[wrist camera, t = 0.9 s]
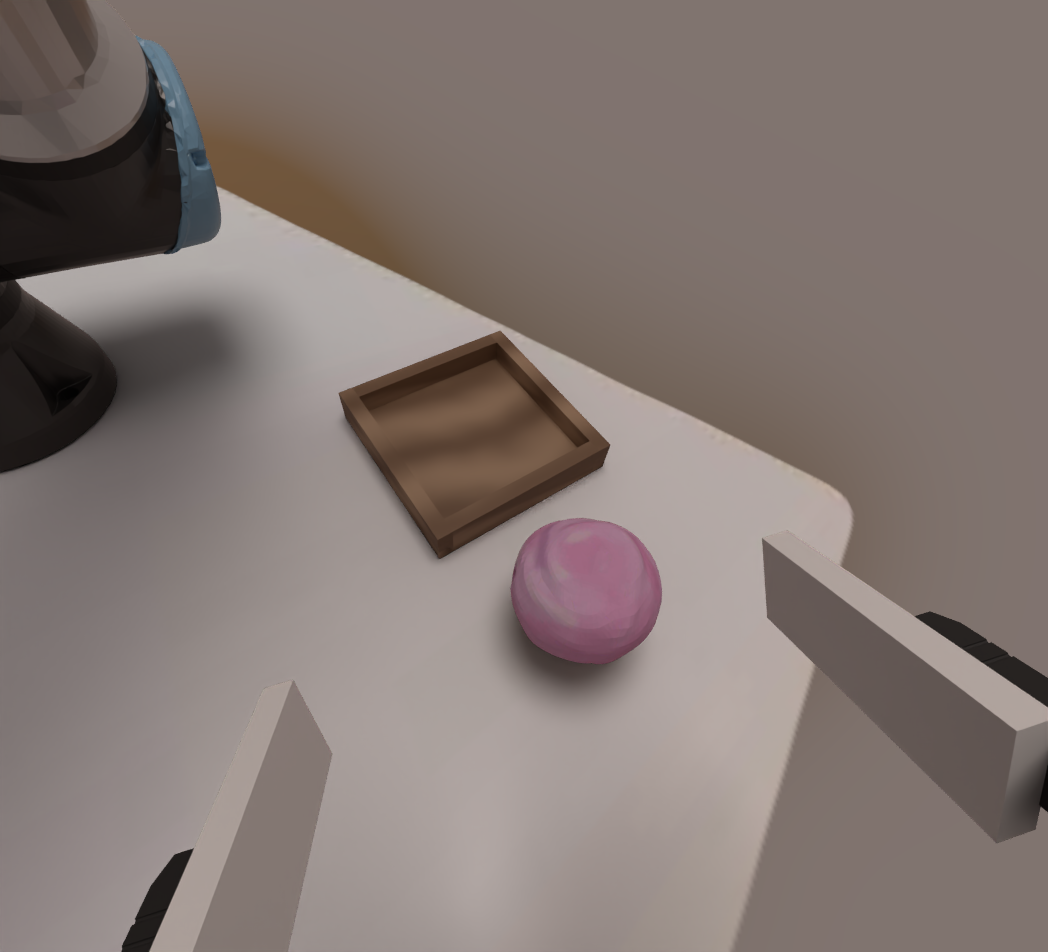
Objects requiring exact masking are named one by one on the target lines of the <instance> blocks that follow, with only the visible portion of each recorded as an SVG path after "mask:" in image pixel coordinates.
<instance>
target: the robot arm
mask: <svg viewBox="0 0 1048 952" xmlns="http://www.w3.org/2000/svg"><path fill="white" fill-rule="evenodd" d="M220 226H221V210H220V203H219V198H218V193H217V188H216V184H215V180H214V176H213V173H212V169H211V166H210V164H209V161H208V159H207V158H206V151H205V148H204V143H203V139H202V135H201V132H200V128H199V125H198V123H197V120H196V117H195V114H194V111H193V108H192V105H191V103H190V100H189V97H188V95H187V92H186V90H185V87H184V85H183V83H182V80H181V78H180V76H179V74H178V72H177V69H176V67H175V65H174V64H173V62H172V60H171V58H170V56H169V55H168V53H167V52H166V51H165V49H164V48H163V47H161V46H160V45H159V44H157V43H155V42H154V41H150V40H143V39H141V38H139V37H138V36H135V35H134V34H133V32H132V31H131V29H130V28H129V26H128V25H127V24H126V22H125V21H124V20H123V18H122V17H121V16H120V14H119V13H118V12H117V11H116V10H115V9H114V8H113V7H112V6H111V5H110V4H109V3H108V2H107V1H106V0H0V471H4V470H8V469H12V468H15V467H18V466H21V465H24V464H27V463H30V462H32V461H35V460H37V459H40V458H42V457H44V456H46V455H49V454H51V453H53V452H54V451H56V450H58V449H60V448H62V447H63V446H65V445H67V444H68V443H70V442H71V441H73V440H74V439H76V438H77V437H79V436H80V435H81V434H83V433H84V432H85V431H86V430H87V429H89V428H90V427H91V426H92V425H93V424H94V423H95V422H96V421H97V420H98V419H99V418H100V417H101V415H102V414H103V413H104V412H105V410H106V409H107V407H108V406H109V404H110V402H111V400H112V398H113V396H114V393H115V390H116V384H117V376H116V371H115V368H114V366H113V364H112V362H111V361H110V359H109V358H108V357H107V355H106V354H105V353H104V352H103V350H102V349H101V348H100V346H99V345H98V344H97V343H96V341H95V340H93V339H92V338H91V337H90V336H89V335H88V334H87V333H85V332H84V331H83V330H81V329H80V328H78V327H77V326H75V325H74V324H72V323H71V322H70V321H68V320H67V319H65V318H64V317H62V316H61V315H59V314H58V313H56V312H55V311H54V310H52V309H51V308H49V307H48V306H46V305H45V304H43V303H42V302H40V301H39V300H38V299H36V298H35V297H33V296H32V295H30V294H29V293H27V292H26V291H25V290H23V289H22V288H21V286H20V285H19V284H18V283H17V282H16V281H15V280H16V279H21V278H26V277H32V276H37V275H43V274H48V273H53V272H59V271H64V270H69V269H75V268H80V267H86V266H92V265H98V264H104V263H110V262H116V261H121V260H127V259H133V258H139V257H145V256H151V255H157V254H173V253H175V252H177V251H179V250H180V249H181V248H185V247H189V246H194V245H198V244H202V243H205V242H208V241H210V240H212V239H213V238H214V237H215V236H216V235H217V234H218V232H219V229H220ZM762 545H763V560H764V575H765V591H766V606H767V618H768V619H769V620H770V621H771V622H772V623H773V624H774V625H775V626H776V627H777V628H778V629H779V630H780V631H782V632H783V633H784V634H785V635H786V636H787V637H788V638H789V639H790V640H791V641H792V642H793V643H794V644H795V645H796V646H797V647H798V648H799V649H800V650H801V651H802V652H803V653H804V654H805V655H806V656H807V657H808V658H809V659H810V660H811V661H812V662H813V663H814V664H815V665H816V666H817V667H818V668H819V669H820V670H821V671H822V672H823V673H824V674H825V675H826V676H827V677H828V678H829V679H830V680H831V681H832V682H833V683H834V684H835V685H836V686H837V687H838V688H839V689H840V690H841V691H842V692H843V693H845V694H846V696H847V697H849V699H851V700H852V701H853V702H854V703H855V704H856V705H857V706H858V707H859V708H860V709H861V710H862V711H863V712H864V713H865V714H866V715H867V716H868V717H869V718H870V719H871V720H872V721H873V722H874V723H875V724H876V725H877V726H878V727H879V728H880V729H881V730H882V731H883V732H884V733H885V734H886V735H887V736H888V737H889V738H890V739H891V740H892V741H893V742H894V743H895V744H896V745H897V746H898V747H899V748H900V749H901V750H902V751H903V752H904V753H905V754H907V756H908V757H909V758H910V759H911V760H912V761H913V762H914V763H916V764H917V766H918V767H919V768H921V769H922V770H923V771H924V772H925V773H926V774H927V775H928V776H929V777H930V778H931V779H932V780H933V781H934V782H935V783H936V784H937V785H938V786H939V787H940V788H941V789H942V790H943V791H944V792H945V793H946V794H947V795H948V796H949V797H950V798H951V799H952V800H953V801H954V802H955V803H956V804H957V805H958V806H959V807H960V808H961V809H962V810H963V811H964V812H965V813H966V814H967V815H968V816H969V817H970V818H971V819H972V820H973V821H974V822H975V823H976V824H977V825H978V826H979V827H980V828H981V829H983V830H984V832H985V833H987V834H988V836H990V837H991V838H992V839H993V840H994V841H995V842H996V843H999V842H1002V841H1005V840H1008V839H1010V838H1013V837H1016V836H1019V835H1022V834H1024V833H1027V832H1030V831H1033V830H1035V829H1036V825H1037V820H1038V816H1039V811H1040V807H1042V808H1043V809H1045V810H1046V811H1047V812H1048V678H1047V677H1045V676H1044V675H1042V674H1041V673H1039V672H1038V671H1036V670H1034V669H1033V668H1031V667H1030V666H1028V665H1026V664H1025V663H1023V662H1022V661H1020V660H1018V659H1017V658H1015V657H1014V656H1013V657H1010V656H1009V655H1008V653H1007V652H1006V651H1004V650H1002V649H1001V648H999V647H998V646H996V645H995V644H993V643H988V642H987V640H986V639H985V638H984V637H982V636H981V635H979V634H977V633H976V632H974V631H973V630H971V629H970V628H968V627H966V626H965V625H963V624H962V623H960V622H957V621H954V620H952V619H949V618H946V617H944V616H941V615H938V614H936V613H933V612H927V613H924V614H920V615H918V616H913V615H911V614H910V613H908V612H907V611H905V610H904V609H902V608H901V607H899V606H898V605H896V604H895V603H894V602H892V601H891V600H889V599H888V598H886V597H885V596H883V595H882V594H880V593H879V592H877V591H876V590H874V589H873V588H872V587H870V586H868V585H867V584H866V583H864V582H863V581H861V580H860V579H858V578H857V577H855V576H854V575H852V574H851V573H849V572H848V571H847V570H845V569H843V568H842V567H841V566H839V565H838V564H836V563H835V562H833V561H832V560H830V559H829V558H827V557H826V556H825V555H823V554H822V553H820V552H819V551H817V550H816V549H814V548H813V547H811V546H810V545H808V544H807V543H805V542H804V541H802V540H801V539H800V538H798V537H797V536H795V535H794V534H792V533H791V532H789V531H788V530H787V531H784V532H781V533H777V534H774V535H771V536H767V537H764V538H762ZM331 757H332V752H331V750H330V748H329V746H328V745H327V743H326V741H325V739H324V737H323V735H322V733H321V731H320V729H319V728H318V726H317V724H316V722H315V720H314V718H313V716H312V714H311V712H310V711H309V709H308V707H307V705H306V703H305V701H304V699H303V697H302V695H301V693H300V692H299V690H298V688H297V686H296V684H295V682H294V680H290V681H287V682H283V683H280V684H277V685H273V686H270V687H267V688H264V689H263V691H262V694H261V696H260V698H259V701H258V703H257V705H256V707H255V710H254V712H253V714H252V717H251V719H250V721H249V724H248V726H247V728H246V730H245V733H244V735H243V737H242V740H241V742H240V744H239V747H238V749H237V751H236V753H235V756H234V758H233V760H232V763H231V765H230V767H229V770H228V772H227V774H226V776H225V779H224V781H223V783H222V786H221V788H220V790H219V792H218V795H217V797H216V799H215V802H214V804H213V806H212V809H211V811H210V813H209V815H208V818H207V820H206V822H205V825H204V827H203V829H202V832H201V834H200V836H199V838H198V841H197V843H196V845H195V848H193V849H190V850H187V851H184V852H181V853H178V854H175V855H174V856H173V857H172V859H171V860H170V861H169V863H168V864H167V865H166V867H165V868H164V869H163V871H162V872H161V873H160V874H159V876H158V877H157V878H156V880H155V881H154V882H153V884H152V885H151V887H150V889H149V891H148V893H147V895H146V897H145V899H144V901H143V903H142V905H141V907H140V910H139V912H138V914H137V916H136V918H135V920H136V922H135V924H134V925H132V926H131V928H130V930H129V932H128V935H127V937H126V939H125V941H124V943H123V945H122V952H288V948H289V943H290V939H291V934H292V930H293V926H294V921H295V917H296V912H297V908H298V903H299V899H300V895H301V890H302V886H303V881H304V877H305V872H306V868H307V864H308V859H309V855H310V850H311V846H312V841H313V837H314V832H315V828H316V824H317V819H318V815H319V810H320V806H321V801H322V797H323V793H324V788H325V784H326V779H327V775H328V770H329V766H330V762H331Z"/></svg>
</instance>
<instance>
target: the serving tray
mask: <svg viewBox="0 0 1048 952" xmlns="http://www.w3.org/2000/svg"><path fill="white" fill-rule="evenodd" d="M339 396H340V400H341V403H342V406H343V410H344V413H345V417H346V419H347V420H348V422H349V423H350V425H351V426H352V428H353V429H354V431H355V432H356V434H357V435H358V437H359V438H360V440H361V441H362V443H363V444H364V446H365V447H366V449H367V450H368V452H369V453H370V455H371V456H372V458H373V459H374V461H375V462H376V464H377V465H378V467H379V468H380V470H381V471H382V473H383V474H384V476H385V477H386V479H387V480H388V482H389V484H390V485H391V487H392V488H393V490H394V491H395V493H396V494H397V496H398V497H399V499H400V500H401V502H402V503H403V505H404V506H405V508H406V509H407V511H408V512H409V514H410V515H411V517H412V518H413V520H414V521H415V523H416V524H417V526H418V527H419V529H420V530H421V532H422V533H423V535H424V536H425V538H426V539H427V541H428V542H429V544H430V545H431V547H432V548H433V550H434V551H435V553H436V554H437V556H438V557H439V559H440V558H442V557H444V556H446V555H447V554H449V553H451V552H453V551H454V550H456V549H458V548H460V547H461V546H463V545H465V544H467V543H468V542H470V541H472V540H474V539H475V538H477V537H479V536H481V535H482V534H484V533H486V532H488V531H490V530H491V529H493V528H495V527H497V526H498V525H500V524H502V523H504V522H505V521H507V520H509V519H511V518H512V517H514V516H516V515H518V514H519V513H521V512H523V511H525V510H526V509H528V508H530V507H532V506H533V505H535V504H537V503H539V502H540V501H542V500H544V499H546V498H548V497H549V496H551V495H553V494H555V493H556V492H558V491H560V490H562V489H563V488H565V487H567V486H569V485H570V484H572V483H574V482H576V481H577V480H579V479H581V478H583V477H584V476H586V475H588V474H590V473H591V472H593V471H595V470H597V469H598V468H600V467H602V466H603V463H604V460H605V458H606V455H607V453H608V450H609V447H610V444H609V443H608V442H607V441H606V440H605V439H604V438H603V437H602V436H601V435H600V434H599V432H598V431H597V430H596V429H595V428H594V427H593V426H592V425H591V424H590V423H589V422H588V421H587V420H586V419H585V418H584V417H583V416H582V415H581V414H580V413H579V412H578V411H577V410H576V409H575V408H574V407H573V406H572V404H571V403H570V402H569V401H568V400H567V399H566V398H565V397H564V396H563V395H562V394H561V393H560V392H559V391H558V390H557V389H556V388H555V387H554V386H553V385H552V384H551V383H550V382H549V381H548V380H547V379H546V378H545V376H544V375H543V374H542V373H541V372H540V371H539V370H538V369H537V368H536V367H535V366H534V365H533V364H532V363H531V362H530V361H529V360H528V359H527V358H526V357H525V356H524V355H523V354H522V353H521V352H520V351H519V350H518V348H517V347H516V346H515V345H514V344H513V343H512V342H511V341H510V340H509V339H508V338H507V337H506V336H505V335H504V334H503V333H502V332H501V331H498V332H495V333H493V334H490V335H488V336H485V337H482V338H480V339H477V340H475V341H472V342H469V343H467V344H464V345H462V346H459V347H457V348H454V349H451V350H449V351H446V352H444V353H441V354H438V355H436V356H433V357H431V358H428V359H425V360H423V361H420V362H418V363H415V364H412V365H410V366H407V367H405V368H402V369H400V370H397V371H394V372H392V373H389V374H387V375H384V376H381V377H379V378H376V379H374V380H371V381H368V382H366V383H363V384H361V385H358V386H355V387H353V388H350V389H348V390H345V391H343V392H340V393H339Z"/></svg>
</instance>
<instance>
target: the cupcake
mask: <svg viewBox="0 0 1048 952" xmlns="http://www.w3.org/2000/svg"><path fill="white" fill-rule="evenodd" d="M510 589H511V597H512V603H513V606H514V610H515V613H516V615H517V617H518V620H519V622H520V624H521V626H522V628H523V629H524V631H525V633H526V635H527V636H528V638H529V639H530V640H531V641H532V642H533V643H534V644H535V645H536V646H538V647H539V648H541V649H543V650H544V651H546V652H548V653H550V654H552V655H554V656H557V657H560V658H563V659H566V660H569V661H573V662H578V663H593V664H605V663H609V662H612V661H614V660H616V659H618V658H620V657H622V656H623V655H625V654H627V653H628V652H630V651H631V650H633V649H634V648H635V647H637V646H638V645H639V644H640V643H641V642H643V641H644V639H645V638H646V637H647V636H648V635H649V633H650V632H651V630H652V629H653V627H654V624H655V622H656V619H657V616H658V613H659V609H660V605H661V600H662V586H661V580H660V575H659V571H658V569H657V566H656V563H655V561H654V559H653V557H652V556H651V554H650V552H649V551H648V550H647V548H646V547H645V546H644V544H643V543H642V542H641V541H640V540H639V539H638V538H637V537H636V536H635V535H634V534H633V533H631V532H630V531H628V530H627V529H625V528H623V527H621V526H618V525H616V524H613V523H610V522H605V521H597V520H593V519H586V518H575V519H567V520H562V521H557V522H553V523H550V524H548V525H546V526H543V527H542V528H540V529H538V530H537V531H535V532H534V533H533V534H532V535H531V536H530V537H529V538H528V539H527V540H526V542H525V543H524V544H523V546H522V548H521V550H520V552H519V554H518V557H517V560H516V563H515V567H514V571H513V577H512V584H511V588H510Z"/></svg>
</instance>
